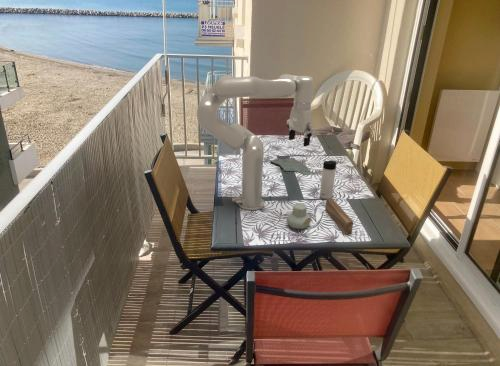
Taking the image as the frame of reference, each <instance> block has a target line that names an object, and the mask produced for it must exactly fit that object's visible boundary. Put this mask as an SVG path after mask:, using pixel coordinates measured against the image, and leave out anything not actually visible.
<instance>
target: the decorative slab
mask: <svg viewBox="0 0 500 366" xmlns="http://www.w3.org/2000/svg"><path fill="white" fill-rule="evenodd" d="M269 162H270V165H273V166H277V167H279V168H280V169H281V170H283V172H284V173H298V174H300V175H302V176H303V175H304V176H311V175H315V173H314V172H312V171H311V170H310V169H309V167H308V166H307V165H306V164H304V163H303V162H301V161H299V160H298V159H296V158H295V157H291V158H285V159H284V158H275V159H274V158H273V160H270V161H269Z"/></svg>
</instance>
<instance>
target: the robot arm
mask: <svg viewBox="0 0 500 366" xmlns="http://www.w3.org/2000/svg"><path fill="white" fill-rule="evenodd" d="M313 89H314V79H313V77H312V76H309V75H293V74H289V73H288V74H287V73H284V74H282V75H280V76H278V79H263V78H259V77H257V76H253V75H252V76H249V75H248V76H240V77H239V76H238V77H237V76H236V77H233V76H232V75H229V74H224V75H222V76H220V77H219V78H218V80H217V81H216V82H215V83H214V84H213V85H212V86H211V87H210V89H208V90H207V91H206V93H205V94H203V96H202V98H201V99H200V101H199V103H198V106H197V110H196V120H197V123H198V124H199V126H200V127H201V128H202V129H203V130H204V131H205V132H206V133H208V134H210V135H211V136H212V137H214V138H215V139H216V140H217V141H219V142H221V143H222V144H224V145H225V146H226V147H228V148H229V149H230V150H234V151H236V150H239V149H241V150H242V157H241V158H242V160H241V162H242V169H241V172H242V173H241V175H242V176H241V177H242V178H241V194H240V195H239V196H237V197H236V196H235V197H231V200H232V202H235V204H238V206H239V207H240V208H242V209H244V210H247V211H258V210H262V209H263V208H264V207H265V201H264V199H262V197H263V196H262V195H263V194H262V192H263V172H264V171H263V170H264V155H265V154H264V153H265V151H264V143H263V141H262V139H261V138H260V137H259V136H257V135H255V133H253V132H251V131H250V130H249V129H248V128H246V127H244V125H242V124H239V123H231V124H229V123H228V122H226V120H224V119H222V118H221V117H218V115H217V112H218V110H219V108H220V106H221V105H222V104H223V103H224V102H225V101H226V100H227V99H236V98H237V99H238V98H250V97H251V98H252V97H255V98H264V99H265V98H266V99H275V98H276V99H277V98H287V97H291V96H292V95H293V94H294V98H293V101H292V103H293V105H292V107H291V110H290V114H289V119H286V125H287V128H288V132H289V133H288V140H289V141H291V140H295V138H296V132H298V133H300V134H303V135H304V138H303V147H308V146H310V144H311V138H312V136H314V134H315V132H316V129H315V128H314V127H313V126H312V118H313V117H312V109H311V108H312V99H313Z"/></svg>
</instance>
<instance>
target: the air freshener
mask: <svg viewBox="0 0 500 366" xmlns="http://www.w3.org/2000/svg"><path fill="white" fill-rule="evenodd" d="M307 211H308V207H307V205H306V204H305V203H302V202H297V203H294V204H293V207H292V211H291V212H290V213H288V216H287V217H286V223H287V224H288V225H289V226H290V227H291V228H293V229H297V230H302V229H306V228H307V227H308V226H310V224H311V222H312V216H311V215H310V214H308V213H307Z"/></svg>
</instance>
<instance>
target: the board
mask: <svg viewBox="0 0 500 366" xmlns="http://www.w3.org/2000/svg"><path fill="white" fill-rule="evenodd" d="M325 201H326V202H325V212H326V213H327V214H328V215H329V216H330V218H331V219H332V220H333V221H334V223H335V224H336V225H337V226H338V228H340V230H341V231H342V232H343V233H344V235H352V234H353V233H352V232H353V227H354V226H353V225H354V221H353V220H352V219H351V217H350V216H349V215H348V214H347V213H346V211H344V209H343V208H342V207H341V206H340V205H339V204H338V203H337V202H336V201H335V199H334V198H333V197H332V198H331V199H326V200H325Z"/></svg>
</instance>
